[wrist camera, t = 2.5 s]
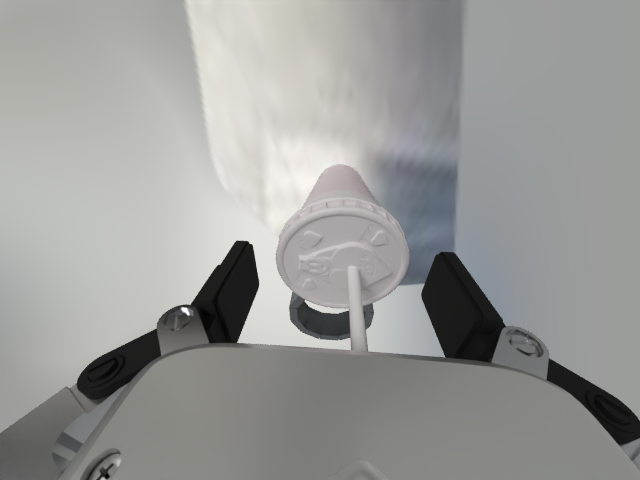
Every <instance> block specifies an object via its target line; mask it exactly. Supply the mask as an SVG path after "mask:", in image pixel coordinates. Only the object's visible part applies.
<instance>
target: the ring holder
mask: <svg viewBox="0 0 640 480" xmlns="http://www.w3.org/2000/svg"><path fill="white" fill-rule="evenodd" d="M304 301H305V299H303V298H302V297H300V296H298V295H297V294H296V293H294V292H292V297H291V302H290V307H289V309H290V320H291V322H292V323H293V324H294V325H295V326H296V327H297V328H298V329H299V330H300V331H303V333H305V334H308V335H310V336H313V337H315V338H318V339H319V338H320V339H327V340H338V339H339V340H343V339H346V338H351V337H350V318H349V311H346V312H343V313H339V314H330V313H321V312H319V311H317V310H314V309H312V308H310V307H309V306H308V305H307V304H306V303H305V302H304ZM363 311H364V319H365V328H366V329H367V328H369V327H370V325H371V322H372V318H373V315H374V311H373V304H372V303H371V304H368V305H364V306H363Z"/></svg>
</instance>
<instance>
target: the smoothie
mask: <svg viewBox="0 0 640 480" xmlns="http://www.w3.org/2000/svg"><path fill="white" fill-rule="evenodd" d="M409 258H410V257H409V249H408V245H407V243H406V240H405V234H404V232H403V230H402V229H401V227H400V225H399V223H398V221H397V220H396V219H395V218H394V217H393V216H392V215H391V214H390V213H389V212H388V211H386V210H385V209H384V208H382V207H380V206H379V205H378V203H377V201H376V200H375V198H374V197H373V195H372V194H371V192H370V191H369V189H368V188H367V186H366V185H365V183H364V182H363V180H362V179H361V177H360V175H359V174H358V173H357V172H356V171H355V170H354V169H353V168H351V167H349V166H346V165H334V166H331V167H329V168H327V169H326V170H325V171H324V172H323V173H322V174H321V175H320V177H319V179H318V180H317V182H316V184H315V186H314V187H313V189H312V191H311V193H310V195H309V196H308V198H307V200H306V202H305V203H304V205H303V207H302V209H300V210H299V211H297V212H296V213H295V214H294V215H293V216H292V217H291V218H290V219H289V220H288V221H287V222H286V224H285V226H284V228H283V230H282V232H281V234H280V236H279V244H278V247H277V252H276V264H277V269H278V272H279V274H280V276H281V278H282V279H283V281H284V282H285V284H286V285H287V286H288V287H289V288H290V289H291V290H292V291H293V292H294V293H296V294H297V295H298V296H300V297H302V298H303V299H305V300H307V301H309V302H312V303H314V304H318V305H321V306H325V307H331V308H349V318H350V337H351V350H352V351H366V352H368V346H367V337H366V328H365V319H364V311H363V306H364V305H368V304H371V303H373V302H376V301H378V300H380V299H382V298H383V297H385V296H387V295H388V294H390V293H391V292H392V291H393V290H394V289H395V288H396V287H397V286H398V285H399V284H400V283H401V282H402V280H403V278H404V277H405V275H406V273H407V270H408V266H409Z"/></svg>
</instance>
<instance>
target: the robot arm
mask: <svg viewBox="0 0 640 480" xmlns="http://www.w3.org/2000/svg"><path fill="white" fill-rule="evenodd" d="M258 288H259V279H258V273H257V268H256V262H255V256H254V250H253V246H252V244H249V242H248V241H236V242H235V243H234V245H233V246H232V248H231V250H230V251H229V253H228V254H227V256H226V257H225V259H224V260H223V262H222V263H221V265H218V266H217V267H216V268H215V269H214V271H213V272H212V274H211V275H210V277H209V278H208V280H207V281H206V283H205V284H204V286H203V287H202V289H201V290H200V292H199V293H198V295H197V296H196V298H195V299H194V301H193V302H192V303H191V305H180V306H176V307H174V308H172V309H170V310H168V311H167V312H166V313H165V314H163V315H162V316H161V318H160V319H159V321H158V323H157V329H155V330H153V331H151V332H149V333H147V334H145V335H143V336H141V337H139V338H137V339H135V340H133V341H131V342H129V343H127V344H125V345H123V346H121V347H119V348H117V349H115V350H112V351H111V352H108V353H106V354H104V355H102V356H101V357H99V358H97V359H96V360H94V361H93V362H92V363H91V364H89V365H88V366H87V367H86V368H85V369H84V370H83V372H82V373H81V374H80V376H79V378H78V381H77V383H76V384H75V385H74V386H72V387H71V388H68V387H65V388H63V389H62V390H60V391H59V392H58V393H56V394H55V395H53V396H52V397H51V398H49V399H48V400H46V401H45V402H44V403H42V404H41V405H39V406H38V407H36V408H35V409H34V410H32V411H31V412H29V413H28V414H27V415H25V416H24V417H22V418H21V419H19V420H18V421H17V422H15V423H14V424H12V425H11V426H10V427H8V428H7V429H5V430H4V431H3V432H1V433H0V480H640V421H639V419H638V418H637V416H636V415H635V414H634V413H633V412H632V411H631V410H630V409H629V408H628V407H627V406H626V405H625V404H623V403H622V402H621V401H620V400H618V399H617V398H615V397H614V396H612V395H611V394H609V393H608V392H606V391H604V390H602V389H601V388H599V387H597V386H596V385H594V384H592V383H591V382H589V381H587V380H585V379H584V378H582V377H580V376H579V375H577V374H575V373H573V372H572V371H570V370H568V369H567V368H565V367H563V366H561V365H560V364H558V363H556V362H555V361H553V360H551V359H549V352H548V350H547V348H546V346H545V345H544V343H543V342H542V341H541V340H540V339H539V338H537V337H536V336H535V335H533V334H532V333H530V332H529V331H527V330H524V329H522V328H519V327H514V326H507V327H506V326H505V324H504V323H503V320H502V318H501V317H500V315H499V314H498V313H497V311H496V310H495V308H494V307H493V306H492V304H491V303H490V301H489V300H488V299H487V297H486V296H485V294H484V293H483V292H482V290H481V289H480V287H479V286H478V285H477V283H476V282H475V280H474V279H473V278H472V276H471V275H470V273H469V272H468V271H467V269H466V268H465V266H464V265H463V264H462V262H461V261H460V259H459V258H458V257H457V255H456V254H455V253H453V252H440V254H437V255H436V256H435V259H434V261H433V264H432V267H431V269H430V272H429V274H428V277H427V280H426V282H425V285H424V288H423V290H422V294H421V296H422V300H423V302H424V305H425V308H426V310H427V313H428V315H429V317H430V320H431V323H432V325H433V328H434V330H435V332H436V335H437V337H438V340H439V342H440V345H441V347H442V350H443V352H444V355H445V357H446V358H443V357H430V356H419V355H406V354H392V353H379V352H366V351H352V350H338V349H323V348H310V347H294V346H280V345H263V344H244V343H237V341H238V339H239V336H240V334H241V331H242V329H243V326H244V324H245V321H246V318H247V316H248V313H249V311H250V308H251V306H252V303H253V300H254V298H255V295H256V293H257V291H258Z"/></svg>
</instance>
